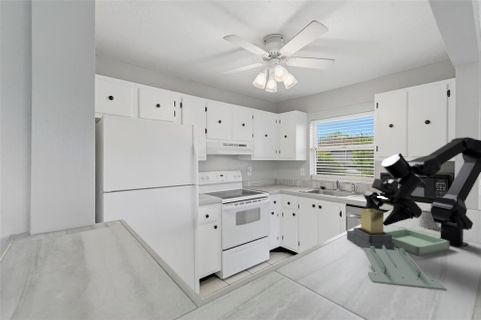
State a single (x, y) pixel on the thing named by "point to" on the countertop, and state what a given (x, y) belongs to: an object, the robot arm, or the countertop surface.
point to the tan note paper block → (372, 221)
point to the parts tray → (417, 242)
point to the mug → (427, 220)
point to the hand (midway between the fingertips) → (373, 220)
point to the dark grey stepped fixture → (370, 239)
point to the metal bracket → (398, 269)
